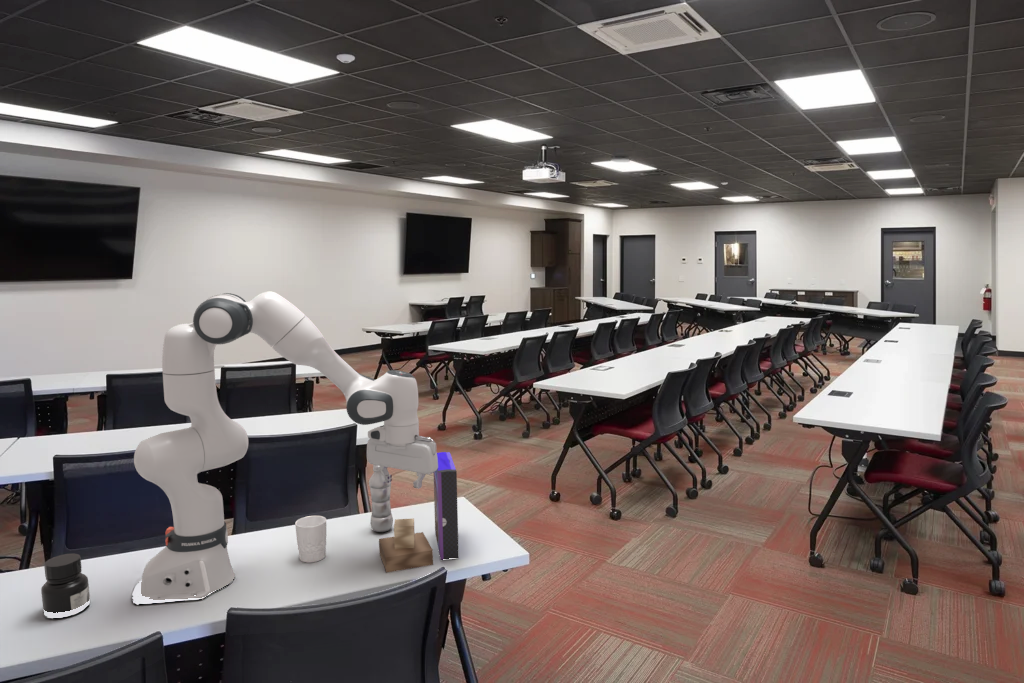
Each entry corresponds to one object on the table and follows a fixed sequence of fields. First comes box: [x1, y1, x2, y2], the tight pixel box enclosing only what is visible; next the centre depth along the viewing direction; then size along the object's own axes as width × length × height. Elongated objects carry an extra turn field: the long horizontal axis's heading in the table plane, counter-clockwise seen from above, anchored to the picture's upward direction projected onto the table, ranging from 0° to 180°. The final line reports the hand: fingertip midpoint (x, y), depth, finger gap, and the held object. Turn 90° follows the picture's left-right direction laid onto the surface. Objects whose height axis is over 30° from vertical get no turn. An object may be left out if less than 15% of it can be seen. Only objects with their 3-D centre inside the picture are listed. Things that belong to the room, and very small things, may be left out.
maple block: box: [393, 517, 416, 549], centre depth 173 cm, size 5×5×6 cm
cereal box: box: [433, 451, 460, 561], centre depth 181 cm, size 17×5×24 cm, turn 11°
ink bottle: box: [41, 553, 91, 613], centre depth 150 cm, size 10×9×12 cm
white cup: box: [294, 515, 327, 563], centre depth 176 cm, size 8×8×10 cm
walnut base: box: [378, 531, 434, 573], centre depth 174 cm, size 12×12×4 cm
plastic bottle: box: [368, 464, 394, 533], centre depth 192 cm, size 6×7×20 cm
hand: (402, 484), depth 172 cm, fingers open, 8 cm apart
